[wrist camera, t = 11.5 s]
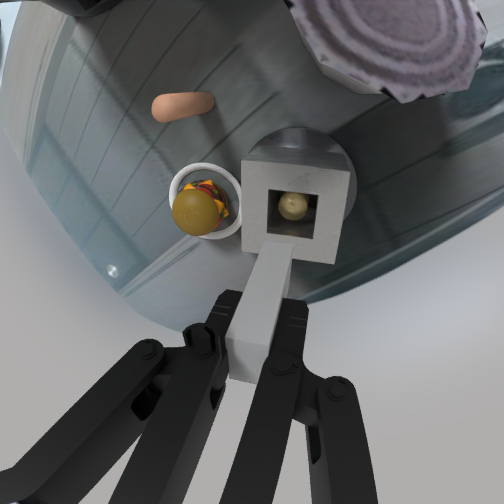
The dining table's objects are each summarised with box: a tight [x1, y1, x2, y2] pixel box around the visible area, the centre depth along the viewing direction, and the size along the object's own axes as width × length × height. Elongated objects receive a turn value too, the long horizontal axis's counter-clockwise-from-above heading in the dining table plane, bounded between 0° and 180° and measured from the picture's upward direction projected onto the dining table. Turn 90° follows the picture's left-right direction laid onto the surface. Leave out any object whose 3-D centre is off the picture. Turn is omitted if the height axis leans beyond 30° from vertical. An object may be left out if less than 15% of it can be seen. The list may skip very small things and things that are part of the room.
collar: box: [241, 145, 350, 264], centre depth 23 cm, size 8×8×6 cm
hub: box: [249, 127, 357, 221], centre depth 23 cm, size 11×11×6 cm
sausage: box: [152, 92, 215, 122], centre depth 20 cm, size 2×2×8 cm
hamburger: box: [169, 163, 241, 240], centre depth 28 cm, size 12×12×6 cm
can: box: [284, 0, 488, 104], centre depth 12 cm, size 11×11×12 cm
